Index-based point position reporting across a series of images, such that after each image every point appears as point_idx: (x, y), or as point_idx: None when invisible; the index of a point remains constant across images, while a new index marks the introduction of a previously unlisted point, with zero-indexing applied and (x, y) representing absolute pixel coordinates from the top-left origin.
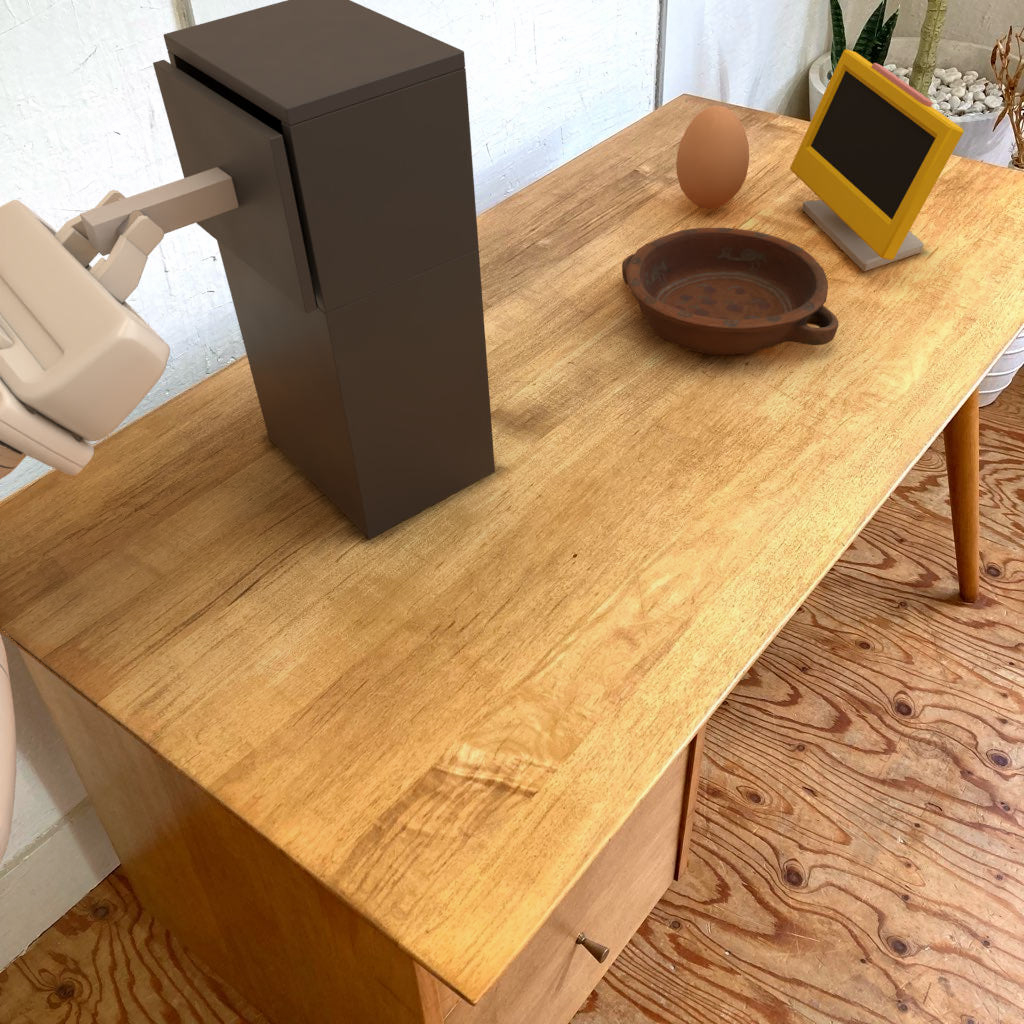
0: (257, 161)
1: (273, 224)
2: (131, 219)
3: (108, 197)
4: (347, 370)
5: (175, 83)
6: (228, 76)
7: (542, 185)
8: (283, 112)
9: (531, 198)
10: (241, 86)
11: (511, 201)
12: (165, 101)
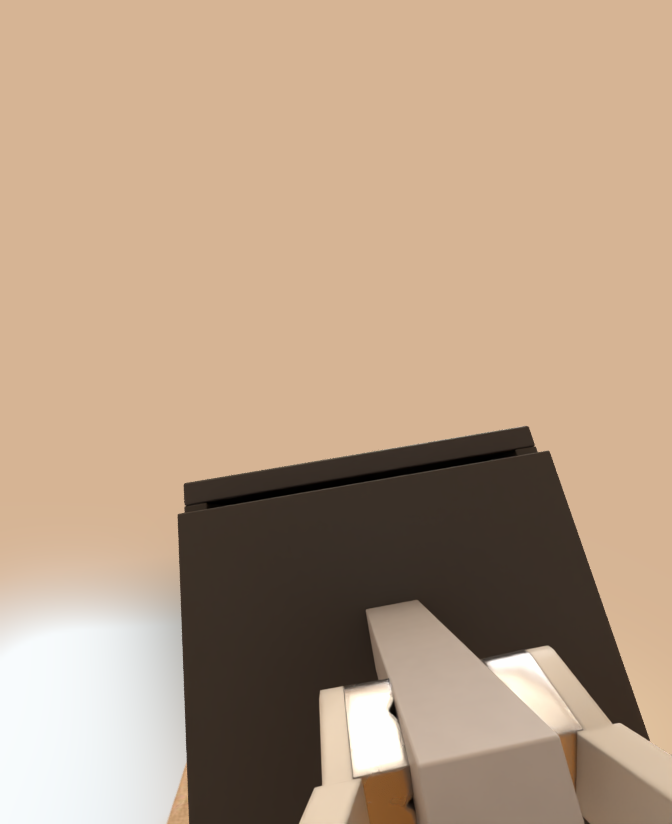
0: (511, 509)
1: (549, 614)
2: (526, 674)
3: (338, 710)
4: None
5: (258, 511)
6: (384, 452)
7: (183, 781)
8: (522, 433)
9: (186, 793)
10: (418, 450)
11: (172, 807)
12: (190, 575)
